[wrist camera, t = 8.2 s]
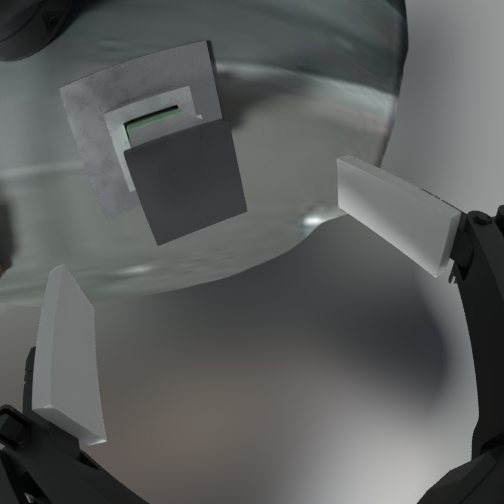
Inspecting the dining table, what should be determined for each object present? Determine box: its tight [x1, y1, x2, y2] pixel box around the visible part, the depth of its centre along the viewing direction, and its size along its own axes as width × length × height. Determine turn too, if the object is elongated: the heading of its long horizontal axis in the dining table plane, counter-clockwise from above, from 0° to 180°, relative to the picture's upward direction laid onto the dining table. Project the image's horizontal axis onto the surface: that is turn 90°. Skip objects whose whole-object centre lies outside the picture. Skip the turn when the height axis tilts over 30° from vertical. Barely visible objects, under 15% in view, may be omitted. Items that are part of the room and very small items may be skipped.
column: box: [123, 107, 247, 246], centre depth 25 cm, size 6×6×21 cm
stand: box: [59, 41, 222, 219], centre depth 35 cm, size 22×22×11 cm
